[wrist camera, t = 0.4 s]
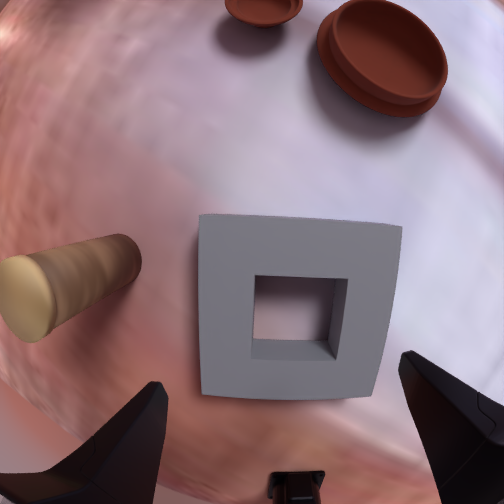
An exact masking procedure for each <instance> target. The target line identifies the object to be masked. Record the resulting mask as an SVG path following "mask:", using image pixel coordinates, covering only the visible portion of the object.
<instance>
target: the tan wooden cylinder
mask: <svg viewBox="0 0 504 504" xmlns="http://www.w3.org/2000/svg"><path fill="white" fill-rule="evenodd" d="M141 264H142V259H141V253H140V250H139V248H138V246H137V245H136V243H135V242H134V241H133V240H132V239H131V238H130V237H128V236H126V235H123V234H113V235H109V236H104V237H100V238H95V239H91V240H86V241H82V242H78V243H73V244H69V245H65V246H61V247H57V248H53V249H49V250H45V251H41V252H37V253H33V254H29V255H18V256H14V257H10V258H6V259H4V260H3V261H2V262H1V263H0V313H1V315H2V317H3V319H4V321H5V323H6V324H7V326H8V327H9V329H10V330H11V331H12V332H13V333H14V334H15V335H16V336H17V337H18V338H19V339H21V340H23V341H25V342H28V343H35V342H38V341H39V340H41V339H42V338H44V337H45V336H47V335H48V334H50V333H51V331H52V330H53V329H54V328H56V327H58V326H59V325H61V324H62V323H64V322H66V321H67V320H69V319H70V318H72V317H74V316H75V315H77V314H78V313H80V312H82V311H83V310H85V309H86V308H88V307H90V306H91V305H93V304H95V303H96V302H98V301H100V300H101V299H103V298H105V297H106V296H108V295H110V294H111V293H113V292H115V291H116V290H118V289H120V288H121V287H123V286H125V285H126V284H128V283H130V282H131V281H133V280H134V279H135V278H136V277H137V276H138V274H139V272H140V269H141Z"/></svg>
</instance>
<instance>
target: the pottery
mask: <svg viewBox="0 0 504 504" xmlns="http://www.w3.org/2000/svg"><path fill="white" fill-rule="evenodd" d="M302 5H303V0H225V6H226V9H227V10H228V12H229V13H230V14H231V15H232V16H234V17H235V18H236V19H238V20H240V21H242V22H244V23H246V24H250V25H254V26H256V27H260V28H269V27H273V26H275V25H279V24H282V23H285V22H287V21H289V20H291V19H292V18H293V17H295V16H296V15H297V14H298V13H299V12H300V10H301V8H302ZM317 48H318V52H319V56H320V58H321V61H322V63H323V65H324V67H325V68H326V70H327V72H328V73H329V75H330V76H331V77H332V79H333V80H334V81H335V82H336V83H337V84H338V85H339V86H340V87H341V88H342V89H343V90H344V91H345V92H346V93H347V94H348V95H350V96H351V97H352V98H354V99H355V100H356V101H358V102H359V103H361V104H363V105H364V106H366V107H368V108H370V109H372V110H375V111H377V112H380V113H383V114H386V115H390V116H395V117H413V116H417V115H420V114H423V113H425V112H427V111H428V110H430V109H431V108H432V107H433V106H434V105H435V103H436V102H437V100H438V99H439V96H440V94H441V90H442V88H443V87H444V85H445V83H446V80H447V75H448V65H447V59H446V56H445V53H444V50H443V48H442V46H441V44H440V42H439V40H438V39H437V37H436V36H435V35H434V33H433V32H432V31H431V30H430V28H429V27H428V26H427V25H426V24H425V23H424V22H423V21H422V20H420V19H419V18H418V17H417V16H416V15H414V14H413V13H411V12H410V11H408V10H407V9H405V8H403V7H401V6H399V5H397V4H394V3H392V2H389V1H386V0H350V1H348V2H346V3H344V4H343V5H341V6H340V7H339V8H338V9H337V10H335V11H333V12H331V13H330V14H329V15H328V16H327V17H326V18H325V19H324V20H323V21H322V23H321V25H320V27H319V29H318V33H317Z"/></svg>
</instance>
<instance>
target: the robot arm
mask: <svg viewBox="0 0 504 504" xmlns="http://www.w3.org/2000/svg"><path fill="white" fill-rule="evenodd" d="M398 372H399V376H400V379H401V383H402V386H403V390H404V394H405V397H406V401H407V404H408V407H409V410H410V412H411V415H412V417H413V420H414V423H415V425H416V428H417V430H418V433H419V436H420V438H421V441H422V444H423V447H424V449H425V452H426V455H427V458H428V461H429V464H430V467H431V470H432V473H433V476H434V479H435V482H436V485H437V489H438V492H439V496H440V499H441V503H442V504H504V406H503V405H501V404H499V403H497V402H495V401H493V400H491V399H490V398H488V397H486V396H485V395H483V394H481V393H480V392H477V390H475V389H473V388H472V387H470V386H469V385H467V384H465V383H464V382H462V381H461V380H459V379H458V378H456V377H454V376H453V375H451V374H450V373H448V372H446V371H445V370H443V369H442V368H440V367H438V366H437V365H435V364H434V363H432V362H430V361H429V360H427V359H426V358H424V357H423V356H421V355H419V354H418V353H416V352H415V351H412V350H410V351H407V352H403V353H402V355H401V359H400V363H399V367H398ZM167 411H168V395H167V393H166V391H165V389H164V387H163V385H162V383H161V382H155V381H151V382H149V383H148V384H147V385H146V386H145V387H144V388H143V389H142V390H141V391H140V392H138V393H137V394H136V395H135V396H134V397H133V398H132V399H131V400H130V401H129V402H128V403H127V404H126V405H125V406H124V407H123V408H122V409H121V410H119V411H118V412H117V413H116V414H115V415H114V416H113V417H112V418H111V419H110V420H109V421H108V422H107V423H106V424H104V425H103V426H102V427H101V428H100V429H99V430H98V431H97V432H96V433H95V434H94V436H91V437H90V438H89V439H88V440H87V441H86V442H85V443H84V444H82V445H81V446H80V447H79V448H78V449H77V450H75V451H74V452H73V453H71V454H70V455H69V456H67V457H66V458H65V459H63V460H62V461H60V462H59V463H58V464H56V465H55V466H53V467H52V468H50V469H48V470H46V471H43V472H38V473H17V474H16V473H9V474H8V473H0V494H1V495H2V496H4V497H3V499H2V501H1V504H153V498H154V492H155V487H156V481H157V475H158V470H159V465H160V459H161V454H162V449H163V444H164V439H165V434H166V423H167ZM324 477H325V472H324V471H310V472H274V473H272V474H271V479H270V485H269V491H268V498H269V499H273V504H321V500H320V493H319V489H320V487H321V484H322V482H323V479H324Z"/></svg>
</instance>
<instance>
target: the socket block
mask: <svg viewBox="0 0 504 504" xmlns="http://www.w3.org/2000/svg"><path fill="white" fill-rule="evenodd" d="M401 238H402V227H401V226H395V225H390V224H384V223H372V222H359V221H346V220H331V219H316V218H299V217H280V216H258V215H232V214H204V215H199V243H198V303H199V345H200V369H201V388H202V394H204V395H214V396H224V397H236V398H250V399H273V400H321V399H343V398H358V397H369V396H371V395H372V392H373V389H374V385H375V381H376V378H377V374H378V370H379V367H380V363H381V359H382V355H383V350H384V346H385V342H386V337H387V332H388V328H389V323H390V317H391V312H392V307H393V301H394V295H395V288H396V281H397V274H398V266H399V258H400V249H401ZM256 275H267V276H290V277H315V278H336V279H335V288H334V297H333V306H332V313H331V321H330V328H329V335H328V341H304V340H269V339H253V328H254V306H255V284H256Z"/></svg>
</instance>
